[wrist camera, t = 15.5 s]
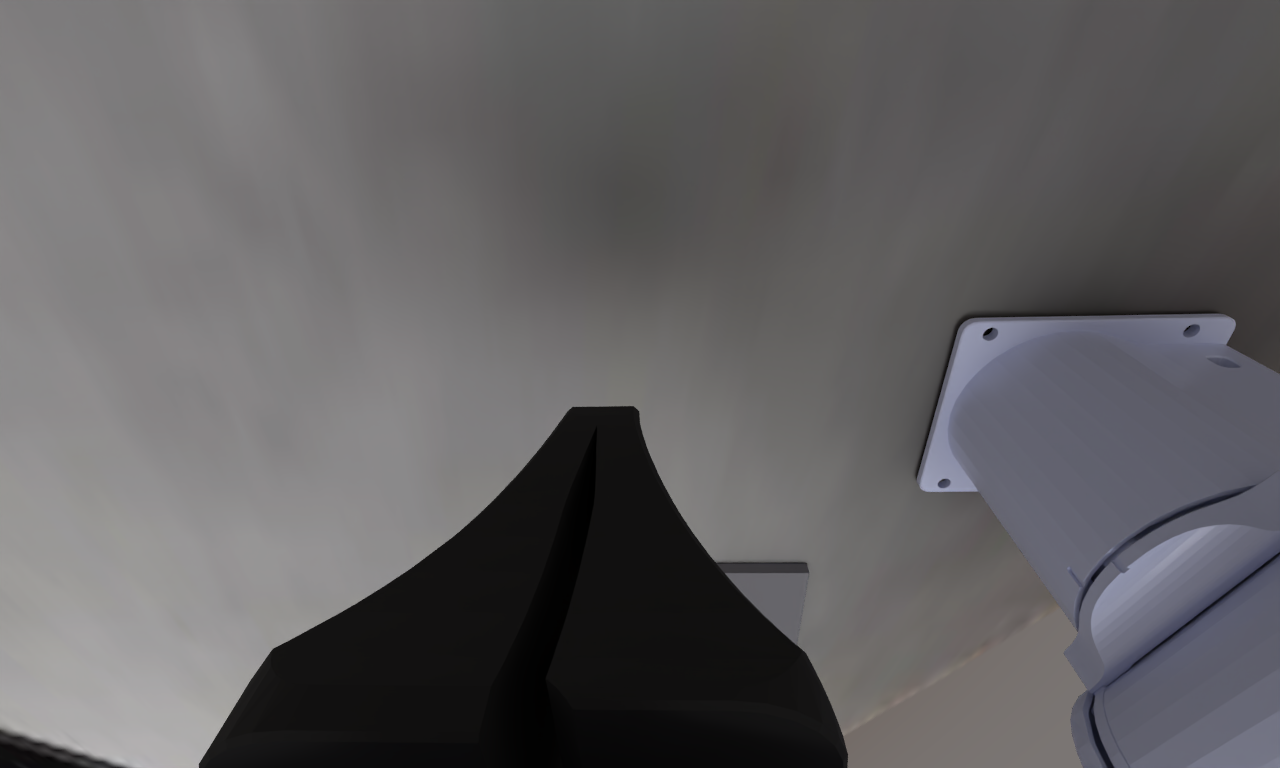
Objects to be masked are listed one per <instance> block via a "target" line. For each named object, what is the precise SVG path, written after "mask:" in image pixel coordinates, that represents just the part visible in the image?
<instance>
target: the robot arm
mask: <svg viewBox="0 0 1280 768" xmlns="http://www.w3.org/2000/svg"><path fill="white" fill-rule="evenodd" d="M1190 325H1191V326H1190ZM1189 326H1190V328H1189V329H1188V330H1186V331H1185V332H1184V330H1185V329H1186V328H1187V327H1189ZM1235 326H1236V323H1235V320H1234V319H1232V318H1231V317H1229V316H1227V315H1225V314H1165V315H1108V316H1051V317H993V318H972V319H969V320H967V321H965V322H964V323H963V324H962V325H961V326H960V327H959V329H958V332H957V336H956V339H955V343H954V347H953V350H952V354H951V357H950V361H949V365H948V368H947V372H946V375H945V379H944V383H943V386H942V390H941V393H940V397H939V401H938V404H937V408H936V412H935V415H934V419H933V422H932V426H931V430H930V433H929V437H928V440H927V444H926V448H925V451H924V455H923V458H922V462H921V466H920V469H919V473H918V476H917V483H918V484H919V486H920V488H921V489H922V490H924V491H927V492H979V493H980V494H981V495H982V497H983V498H984V500H985V501H986V503H987V504H988V505H989V507H990V508H991V510H992V511H993V512H994V514H995V515H996V517H997V518H998V520H999V521H1000V522H1001V524H1002V525H1003V527H1004V528H1005V529H1006V531H1007V532H1008V534H1009V535H1010V537H1011V538H1012V539H1013V541H1014V542H1015V544H1016V545H1017V546H1018V548H1019V549H1020V551H1021V552H1022V554H1023V555H1024V556H1025V558H1026V559H1027V561H1028V562H1029V563H1030V565H1031V566H1032V568H1033V569H1034V571H1035V572H1036V573H1037V575H1038V576H1039V578H1040V579H1041V580H1042V582H1043V583H1044V585H1045V586H1046V588H1047V589H1048V590H1049V592H1050V593H1051V595H1052V596H1053V598H1054V599H1055V600H1056V602H1057V603H1058V605H1059V606H1060V607H1061V609H1062V610H1063V612H1064V613H1065V615H1066V616H1067V617H1068V619H1069V620H1070V622H1071V623H1072V624H1073V626H1074V627H1075V629H1076V630H1077V631H1078V634H1077V637H1076V638H1075V640H1074V641H1073V643H1072V644H1071V645H1070V646H1069V647H1068V648H1067V649H1066V650H1065V651H1064V655H1065V656H1066V658H1067V659H1068V661H1069V662H1070V664H1071V665H1072V667H1073V668H1074V670H1075V671H1076V673H1077V674H1078V676H1079V678H1080V679H1081V680H1082V682H1083V683H1084V685H1085V687H1086V688H1087V691H1085V692H1084V693H1083V694H1082V695H1080V696H1079V697H1078V699H1077V700H1076V702H1075V704H1074V706H1073V708H1072V713H1071V730H1072V736H1073V740H1074V743H1075V747H1076V750H1077V754H1078V756H1079V759H1080V761H1081V764H1082V766H1083V768H1280V374H1279V373H1277V372H1275V371H1273V370H1271V369H1269V368H1268V367H1266V366H1264V365H1262V364H1260V363H1258V362H1257V361H1255V360H1253V359H1251V358H1249V357H1247V356H1246V355H1244V354H1242V353H1240V352H1238V351H1236V350H1234V349H1233V348H1231V347H1229V346H1227V345H1226V344H1227V342H1228V341H1229V339H1230V337H1231V335H1232V333H1233V331H1234V329H1235ZM989 328H993V330H992V331H991V333H990V334H988V335H986V336H983V333H984V332H985V331H986V330H987V329H989ZM942 479H945V480H944V481H942V482H939V481H940V480H942ZM847 762H848V753H847V750H846V746H845V742H844V738H843V735H842V732H841V729H840V727H839V724H838V721H837V719H836V716H835V713H834V711H833V708H832V706H831V703H830V701H829V699H828V697H827V694H826V692H825V690H824V688H823V686H822V684H821V681H820V680H819V678H818V676H817V674H816V672H815V670H814V668H813V666H812V664H811V662H810V660H809V658H808V656H807V654H806V653H805V652H804V651H803V650H802V649H800V648H799V647H798V646H797V645H796V644H795V643H794V642H792V641H791V640H790V639H789V638H788V637H787V636H786V635H784V634H783V633H782V632H781V631H780V630H779V629H778V628H777V627H776V626H775V625H774V624H773V623H772V622H771V621H769V620H768V619H767V618H766V617H765V616H764V615H763V614H762V613H761V612H760V611H759V610H758V609H757V608H756V607H755V606H754V605H753V604H752V603H751V602H750V601H749V600H748V599H747V598H746V597H745V596H744V595H743V593H742V592H741V591H740V590H739V589H738V588H737V587H736V586H735V585H734V583H733V582H732V581H731V580H730V579H729V578H728V576H727V575H726V574H725V573H724V572H723V571H722V569H721V568H720V567H719V566H718V565H717V564H716V562H715V561H714V560H713V559H712V558H711V557H710V555H709V554H708V553H707V551H706V550H705V549H704V547H703V546H702V545H701V543H700V542H699V541H698V539H697V538H696V537H695V535H694V534H693V532H692V531H691V529H690V528H689V526H688V525H687V523H686V522H685V521H684V519H683V517H682V516H681V514H680V513H679V511H678V509H677V508H676V506H675V504H674V503H673V501H672V499H671V497H670V495H669V494H668V492H667V490H666V488H665V486H664V485H663V482H662V480H661V478H660V476H659V474H658V472H657V470H656V468H655V465H654V463H653V461H652V459H651V456H650V454H649V452H648V449H647V446H646V443H645V440H644V437H643V434H642V430H641V426H640V418H639V411H638V410H637V409H636V408H635V407H634V406H618V407H572V408H571V409H570V410H569V411H568V412H567V413H566V414H565V416H564V417H563V419H562V420H561V421H560V423H559V424H558V426H557V427H556V428H555V430H554V431H553V432H552V434H551V435H550V436H549V438H548V439H547V440H546V441H545V443H544V444H543V445H542V447H541V448H540V449H539V450H538V451H537V453H536V454H535V455H534V456H533V457H532V459H531V460H530V461H529V462H528V463H527V465H526V466H525V467H524V468H523V469H522V471H521V472H520V473H519V474H518V475H517V476H516V477H515V478H514V479H513V480H512V481H511V482H510V484H509V485H508V486H507V487H506V488H505V489H504V490H503V491H502V492H501V493H500V494H499V495H498V496H497V497H496V498H495V499H494V500H493V501H492V502H491V503H490V504H489V505H488V506H487V507H486V508H485V509H484V510H483V511H482V512H481V513H480V514H479V515H478V516H477V517H476V518H474V519H473V520H472V521H471V522H470V523H469V524H468V525H467V526H465V527H464V528H463V529H462V530H461V531H460V532H459V533H457V534H456V535H455V536H454V537H452V538H451V539H450V540H449V541H447V542H446V543H445V544H443V545H442V546H441V547H439V548H438V549H437V550H435V551H434V552H433V553H431V554H430V555H429V556H427V557H426V558H425V559H423V560H422V561H421V562H419V563H418V564H417V565H415V566H414V567H412V568H411V569H410V570H408V571H407V572H405V573H404V574H402V575H401V576H399V577H398V578H396V579H395V580H393V581H392V582H390V583H389V584H387V585H386V586H384V587H382V588H381V589H379V590H378V591H376V592H374V593H373V594H371V595H370V596H368V597H366V598H365V599H363V600H362V601H360V602H358V603H357V604H355V605H353V606H351V607H350V608H348V609H346V610H345V611H343V612H341V613H339V614H338V615H336V616H334V617H332V618H330V619H328V620H326V621H325V622H323V623H321V624H319V625H317V626H315V627H314V628H312V629H310V630H308V631H306V632H304V633H302V634H301V635H299V636H297V637H295V638H293V639H291V640H290V641H288V642H286V643H284V644H282V645H280V646H278V647H276V648H274V649H273V650H272V651H271V652H270V654H269V655H268V657H267V658H266V659H265V661H264V662H263V664H262V665H261V666H260V668H259V669H258V671H257V672H256V674H255V675H254V676H253V678H252V679H251V681H250V682H249V684H248V686H247V687H246V689H245V690H244V692H243V694H242V695H241V697H240V699H239V700H238V702H237V703H236V705H235V707H234V708H233V710H232V712H231V713H230V715H229V716H228V718H227V720H226V721H225V723H224V725H223V726H222V728H221V729H220V731H219V733H218V734H217V736H216V738H215V739H214V741H213V742H212V744H211V746H210V747H209V749H208V750H207V752H206V754H205V755H204V757H203V759H202V760H201V762H200V763H199V768H847Z"/></svg>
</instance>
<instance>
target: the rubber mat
mask: <svg viewBox="0 0 1280 768" xmlns="http://www.w3.org/2000/svg"><path fill="white" fill-rule="evenodd" d="M716 564H717V565H718V566H719V567H720V568H721V569H722V571H723V572H724V573H725V574H726V575H727V576H728V578H729V579H730V580H731V581H732V582H733V583H734V585H735V586H736V587H737V588H738V589H739V590H740V591H741V592H742V593H743V595H744V596H745V597H746V598H747V599H748V600H749V601H750V602H751V603H752V604H753V605H754V606H755V607H756V608H757V609H758V610H759V611H760V612H761V613H762V614H763V615H764V616H765V617H766V618H767V619H768V620H769V621H771V622H772V623H773V624H774V625H775V626H776V627H777V628H778V629H779V630H780V631H781V632H782V633H783V634H784V635H786V636H787V637H788V638H789V639H790V640H791V641H792V642H794V643H795V644H796V645H797V642H798V636H799V630H800V624H801V618H802V613H803V607H804V601H805V595H806V589H807V584H808V578H809V570H808V567H807V563H716Z"/></svg>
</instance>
